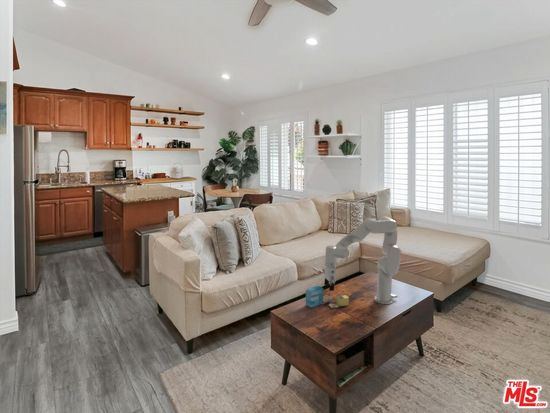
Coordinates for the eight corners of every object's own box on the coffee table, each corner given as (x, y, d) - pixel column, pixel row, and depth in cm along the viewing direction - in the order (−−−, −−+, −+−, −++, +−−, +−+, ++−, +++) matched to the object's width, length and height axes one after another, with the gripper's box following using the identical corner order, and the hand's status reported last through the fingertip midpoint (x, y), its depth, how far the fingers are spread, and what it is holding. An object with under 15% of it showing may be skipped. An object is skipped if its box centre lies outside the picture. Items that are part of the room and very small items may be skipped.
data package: (309, 308, 226) (310, 291, 224) (305, 305, 230) (305, 289, 227) (323, 303, 232) (323, 287, 230) (318, 301, 236) (319, 285, 234)
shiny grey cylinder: (330, 301, 236) (330, 293, 235) (331, 303, 234) (332, 294, 233) (327, 301, 236) (327, 293, 235) (328, 303, 233) (328, 295, 232)
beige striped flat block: (336, 304, 231) (336, 303, 231) (338, 307, 227) (338, 306, 227) (329, 305, 230) (329, 304, 230) (331, 308, 226) (331, 306, 226)
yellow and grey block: (345, 302, 235) (346, 294, 234) (348, 305, 230) (348, 297, 229) (336, 303, 233) (336, 295, 232) (338, 306, 229) (339, 298, 228)
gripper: (340, 268, 222) (339, 292, 225) (331, 259, 239) (329, 282, 242) (329, 268, 221) (328, 293, 224) (321, 260, 238) (319, 283, 240)
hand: (329, 287), depth 233 cm, fingers open, 9 cm apart
